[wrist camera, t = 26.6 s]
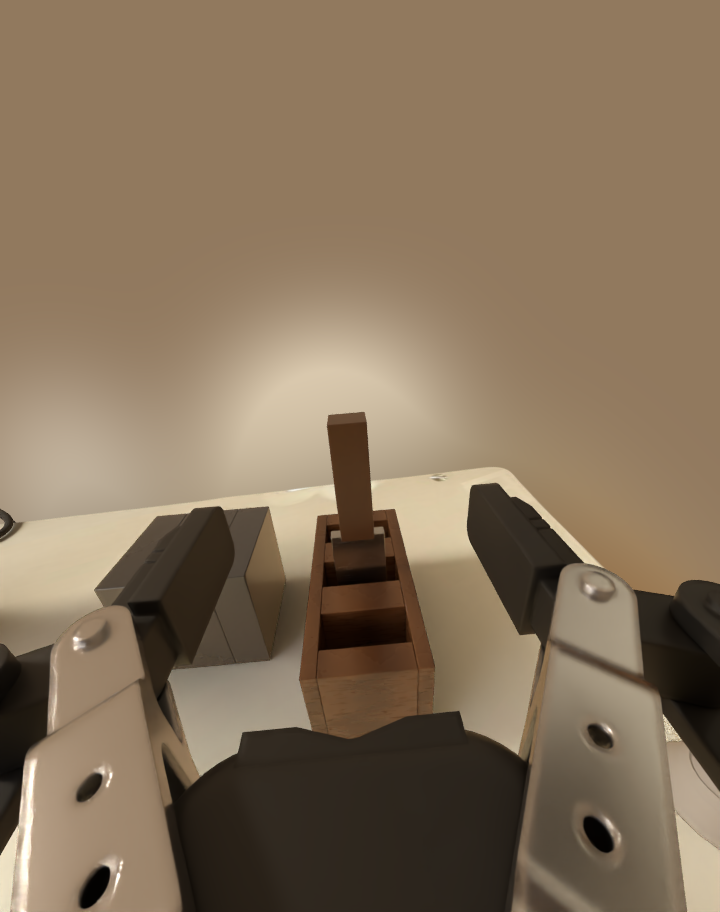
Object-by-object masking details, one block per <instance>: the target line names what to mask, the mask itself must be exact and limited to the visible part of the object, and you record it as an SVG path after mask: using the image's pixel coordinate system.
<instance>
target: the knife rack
mask: <svg viewBox="0 0 720 912" xmlns="http://www.w3.org/2000/svg"><path fill="white" fill-rule="evenodd" d="M373 524H374V527H383V528H384V533H385V553H386V573H387V581H385V582H375V583H364V584H353V585H342V586H338V585H337V578H336V571H335V564H334V557H333V550H332V543H331V531H339V530H340V526H339V518H338V514H333V515H321V516H318V517H317V526H316V535H315V544H314V553H313V562H312V571H311V579H310V588H309V597H308V606H307V615H306V624H305V633H304V642H303V651H302V660H301V668H300V677H299V681H300V685H301V689H302V692H303V696H304V700H305V704H306V708H307V712H308V716H309V720H310V724H311V727H312V731H315V732H320V733H324V734H329V735H333V736H337V737H342V738H346V739H354V738H357V737H360V736H362V735H364V734H367V733H369V732H371V731H374V730H376V729H378V728H381V727H383V726H385V725H387V724H390V723H392V722H394V721H397V720H399V719H401V718H404V717H406V716H414V715H424V714H433V696H434V675H435V665H434V661H433V657H432V653H431V649H430V645H429V641H428V637H427V633H426V630H425V626H424V622H423V618H422V614H421V610H420V606H419V602H418V598H417V594H416V590H415V586H414V582H413V579H412V575H411V571H410V567H409V563H408V559H407V555H406V551H405V547H404V543H403V539H402V535H401V531H400V528H399V524H398V520H397V516H396V512H395V509H389V510H378V511H373Z"/></svg>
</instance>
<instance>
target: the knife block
mask: <svg viewBox="0 0 720 912" xmlns="http://www.w3.org/2000/svg"><path fill="white" fill-rule="evenodd" d="M223 511H224V513H225V517H226V520H227V523H228V526H229V530H230V533H231V536H232V539H233V543H234V547H235V557H234V562H233V565H232V568H231V570H230V572H229V575H228V577H227V580H226V582H225V585H224V587H223V590H222V592H221V594H220V597H219V599H218V602H217V604H216V607H215V609H214V611H213V614H212V616H211V619H210V621H209V624H208V626H207V628H206V631H205V633H204V636H203V638H202V641H201V643H200V645H199V648H198V650H197V653H196V655H195V658H194V660H193V663H192V665H184V666H173V668H172V670H173V669H184V668H194V667H205V666H215V665H226V664H235V663H246V662H257V661H267V660H270V658H271V653H272V648H273V643H274V638H275V633H276V628H277V623H278V618H279V613H280V608H281V603H282V598H283V593H284V588H285V583H286V578H285V574H284V569H283V565H282V561H281V556H280V552H279V548H278V544H277V539H276V535H275V531H274V527H273V522H272V518H271V514H270V510H269V507H257V508H246V509H239V510H238V509H234V510H223ZM189 514H190V513H189ZM189 514H178V515H167V516H157V517H156V518H155V519H154V521H153V522H152V523H151V524H150V525H149V526H148V528H147V529H146V530H145V531H144V532H143V533H142V534H141V536H140V537H139V538H138V539H137V540H136V541H135V543H134V544H133V545H132V546H131V547H130V548H129V550H128V551H127V552H126V553H125V554H124V555H123V557H122V558H121V559H120V560H119V561H118V562H117V564H116V565H115V566H114V567H113V568H112V569H111V571H110V572H109V573H108V574H107V575H106V576H105V578H104V579H103V580H102V581H101V582H100V583H99V585H98V586H97V587H96V588H95V589H94V591H95V593H96V594H97V596H98V598H99V599H100V601H101V603H102V604H103V606H104V607H108V606H111V605H112V603H113V602H114V601H115V599H116V598H117V597H118V595H119V594H120V593H121V591H122V590H123V589H124V587H125V586H126V585H127V583H128V582H129V581H130V580H131V578H132V577H133V576H134V574H135V573H136V572H137V570H138V569H139V568H140V566H141V565H142V564H144V561H145V560H146V558H147V557H148V556H149V554H150V553H152V552H153V551H152V550H153V549H154V548H155V546H156V545H157V544H158V542H159V541H160V540H161V538H162V537H164V536H165V535H166V534H167V533H169V532H170V531H171V530H173V529H174V528H175V527H176V526H181V525H182V524H183V523H184V521H185V520H186V519H187V517H188V516H189Z"/></svg>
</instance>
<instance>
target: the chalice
mask: <svg viewBox="0 0 720 912" xmlns="http://www.w3.org/2000/svg"><path fill="white" fill-rule="evenodd" d="M666 745H667V753H668V761H669V769H670V777H671V785H672V793H673V802H674V809H675V810H676V811H677V813H678V814H679V815H680V816H681V817H682V818H683V819H684V820H685V821H686V822H687V823H688V824H689V825H690V826H691V827H692V828H693V829H694V830H695V831H696V832H697V833H698V834H699V835H700V836H702V837H703V838H704V839H706V840H707V841H708V842H710V843H711V844H713V845H714V846H715V847H717V848H718V849H720V792H719V790H718V789H717V787H716V786H715V785H714V783H713V782H712V781H711V779H710V778H709V776H708V775H707V774H706V772H705V771H704V770H703V768H702V767H701V765H700V764H699V763H698V761H697V760H696V758H695V757H694V756H693V754H692V753H691V752H690V750H689V749H688V747H687V746H686V745H685V743H684V742H683V741H679V742H675V741H670V742H667V743H666Z"/></svg>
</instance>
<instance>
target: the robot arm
mask: <svg viewBox="0 0 720 912" xmlns="http://www.w3.org/2000/svg"><path fill="white" fill-rule="evenodd" d="M0 518H1V519H2V520H4V522H5V524H4V527H3V528H2V529H1V530H0V538H1V537H2V536H4V535H5V534H6V533H8V532H9V531H10V529H11V528H12V526H13V523H16V522H15V521H14V520H13V519H12V517H11V516H10V515H9V514H8V513H6V512H5V511H3V510H1V509H0ZM467 532H468V537H469V540H470V543H471V545H472V547H473V549H474V550H475V552H476V554H477V556H478V558H479V560H480V562H481V564H482V565H483V567H484V569H485V571H486V573H487V575H488V577H489V579H490V580H491V582H492V584H493V586H494V588H495V590H496V592H497V594H498V595H499V597H500V599H501V601H502V603H503V605H504V607H505V609H506V610H507V612H508V614H509V616H510V618H511V620H512V622H513V624H514V625H515V627H516V629H517V631H518V633H519V635H527V634H536V635H537V637H538V638H539V640H540V642H541V645H540V649H539V653H538V659H537V664H536V669H535V675H534V680H533V685H532V691H531V696H530V701H529V706H528V712H527V717H526V722H525V726H524V731H523V735H522V739H521V743H520V748H519V753H518V755H517V754H516V753H514V752H513V751H511V750H510V749H508V748H507V747H505V746H503V745H502V744H500V743H498V742H496V741H494V740H492V739H490V738H488V737H486V736H484V735H481V734H478V733H475V732H472V731H468V730H465V729H464V726H463V722H462V719H461V715H460V712H459V711H455V712H445V713H435V714H424V715H414V716H406V717H404V718H401V719H399V720H397V721H394V722H392V723H390V724H387V725H385V726H383V727H381V728H378V729H376V730H374V731H371V732H369V733H367V734H364V735H362V736H360V737H357V738H354V739H346V738H342V737H337V736H333V735H329V734H324V733H320V732H315V731H311V730H307V729H302V728H298V727H292V728H282V729H272V730H262V731H252V732H243V733H242V737H241V742H240V746H239V751H238V753H237V754H235V755H233V756H231V757H229V758H227V759H225V760H224V761H222V762H220V763H218V764H217V765H216V766H214V767H213V768H211V769H210V770H209V771H207V772H206V773H205V774H203V775H202V776H201V777H200V776H199V773H198V771H197V769H196V766H195V764H194V762H193V759H192V757H191V754H190V751H189V748H188V744H187V741H186V738H185V734H184V731H183V727H182V724H181V720H180V717H179V713H178V710H177V706H176V703H175V699H174V696H173V692H172V689H171V685H170V683H169V681H168V677H169V675H170V673H171V670H172V668H173V666H184V665H192V663H193V660H194V658H195V655H196V653H197V650H198V648H199V645H200V643H201V641H202V638H203V636H204V633H205V631H206V628H207V626H208V624H209V621H210V619H211V616H212V614H213V611H214V609H215V607H216V604H217V602H218V599H219V597H220V594H221V592H222V590H223V587H224V585H225V582H226V580H227V577H228V575H229V572H230V570H231V568H232V565H233V562H234V557H235V547H234V543H233V539H232V536H231V533H230V530H229V526H228V523H227V520H226V517H225V513H224V511H223V509H222V508H221V507H220V506H217V507H205V508H195V509H193V510H192V512H191V513H190V514H189V516H188V517H187V519H186V520H185V521H184V523H183V524H182V525H181V526H176V527H175V528H174V529H173V530H171V531H170V532H169V533H167V534H166V535H165V536H164V537H162V538H161V540H160V541H159V542H158V544H157V545H156V546H155V548H154V549H153V550H152V551H153V552H152V553H150V554H149V556H148V557H147V558H146V560H145V561H144V564H142V565H141V566H140V568H139V569H138V570H137V572H136V573H135V574H134V576H133V577H132V578H131V580H130V581H129V582H128V583H127V585H126V586H125V587H124V589H123V590H122V591H121V593H120V594H119V595H118V597H117V598H116V599H115V601H114V602H113V603H112V605H111V606H108V607H104V608H101V609H98V610H96V611H93V612H91V613H89V614H87V615H85V616H84V617H82V618H81V619H79V620H78V621H76V622H75V623H74V624H72V625H71V626H70V627H69V628H68V629H66V630H65V631H64V632H63V634H62V635H61V636H60V637H59V638H58V639H57V641H56V643H55V644H52V645H49V646H46V647H43V648H40V649H37V650H34V651H31V652H28V653H26V654H23V655H20V656H17V657H15V656H14V655H13V654H12V653H11V652H10V651H9V649H8V648H7V647H6V646H5V645H3V644H0V855H1V853H2V851H3V850H4V848H5V846H6V844H7V843H8V841H9V839H10V837H11V836H12V834H13V832H14V830H15V829H16V827H17V825H18V834H17V845H16V856H15V866H14V877H13V887H12V898H11V909H10V912H687V907H686V899H685V891H684V882H683V874H682V866H681V858H680V850H679V842H678V834H677V826H676V818H675V810H674V802H673V793H672V785H671V777H670V769H669V761H668V753H667V745H666V737H665V729H664V721H663V714H664V716H665V717H666V718H667V720H668V721H669V722H670V724H671V725H672V727H673V728H674V729H675V731H676V732H677V734H678V735H679V736H680V738H681V739H682V740H683V742H684V743H685V745H686V746H687V747H688V749H689V750H690V752H691V753H692V754H693V756H694V757H695V758H696V760H697V761H698V763H699V764H700V765H701V767H702V768H703V770H704V771H705V772H706V774H707V775H708V776H709V778H710V779H711V781H712V782H713V783H714V785H715V786H716V787H717V789H718V790H719V792H720V584H717V583H713V582H709V581H702V580H690V581H686V582H683V583H682V584H681V585H680V586H679V588H678V590H677V592H676V594H675V596H670V595H664V594H657V593H651V592H645V591H638V590H633V589H632V588H631V587H630V586H629V585H628V584H627V583H626V582H625V581H624V580H623V579H622V578H620V577H619V576H617V575H616V574H614V573H612V572H610V571H608V570H606V569H604V568H601V567H598V566H595V565H591V564H585V563H584V562H583V561H582V560H581V559H580V558H579V557H578V556H577V555H576V554H575V553H574V552H573V550H572V549H571V548H570V547H569V546H568V545H567V544H566V543H565V542H564V541H563V540H562V539H561V537H560V536H559V535H558V534H557V533H556V532H555V531H554V530H553V529H551V528H550V526H549V524H548V523H547V522H546V521H545V520H544V519H542V517H541V516H540V515H539V514H538V513H537V511H536V510H535V509H534V508H533V507H532V506H531V505H529V504H527V503H526V502H524V501H522V500H520V499H519V498H517V497H509V495H508V494H507V493H506V492H505V491H504V490H503V488H502V487H501V486H500V485H499V484H498V483H490V484H479V485H473V486H472V487H471V490H470V498H469V508H468V519H467Z"/></svg>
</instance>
